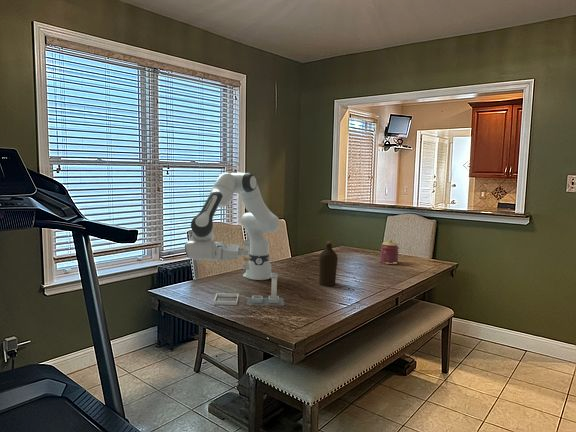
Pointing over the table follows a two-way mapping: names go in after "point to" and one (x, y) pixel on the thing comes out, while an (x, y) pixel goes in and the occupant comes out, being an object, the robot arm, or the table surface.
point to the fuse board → (264, 300)
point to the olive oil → (327, 266)
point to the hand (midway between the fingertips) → (248, 251)
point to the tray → (226, 301)
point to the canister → (389, 252)
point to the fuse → (274, 285)
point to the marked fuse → (246, 257)
